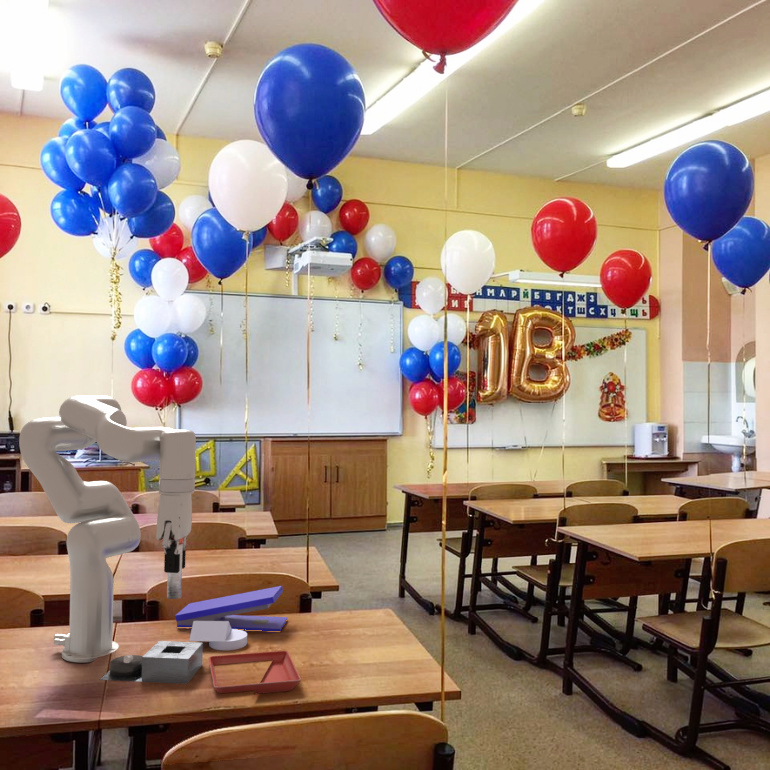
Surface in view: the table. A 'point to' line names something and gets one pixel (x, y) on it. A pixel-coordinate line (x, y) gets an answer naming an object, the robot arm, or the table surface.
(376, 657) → the table surface
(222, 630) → the wedge on round base
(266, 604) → the stapler
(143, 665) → the block
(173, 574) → the pin
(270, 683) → the plant saucer
